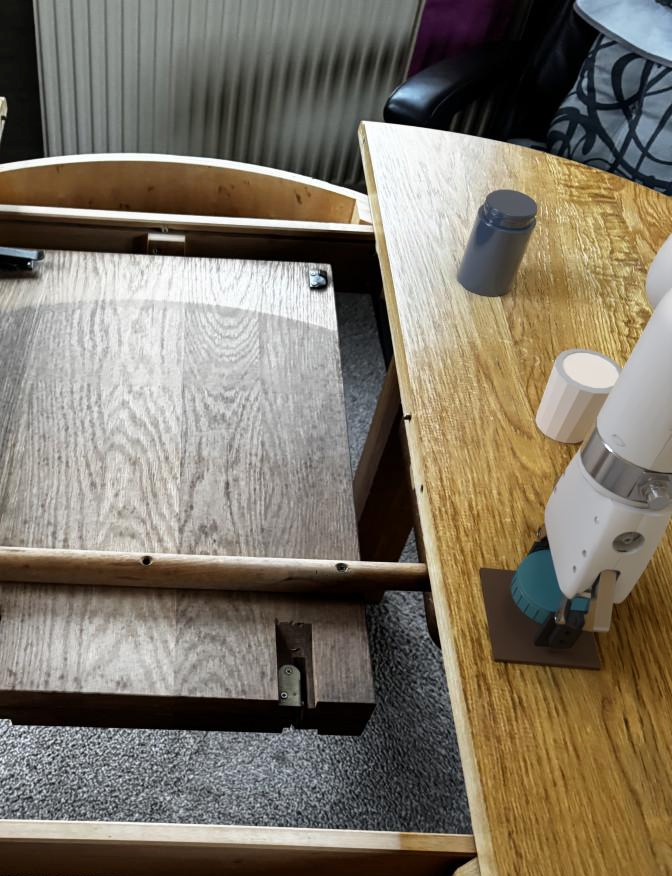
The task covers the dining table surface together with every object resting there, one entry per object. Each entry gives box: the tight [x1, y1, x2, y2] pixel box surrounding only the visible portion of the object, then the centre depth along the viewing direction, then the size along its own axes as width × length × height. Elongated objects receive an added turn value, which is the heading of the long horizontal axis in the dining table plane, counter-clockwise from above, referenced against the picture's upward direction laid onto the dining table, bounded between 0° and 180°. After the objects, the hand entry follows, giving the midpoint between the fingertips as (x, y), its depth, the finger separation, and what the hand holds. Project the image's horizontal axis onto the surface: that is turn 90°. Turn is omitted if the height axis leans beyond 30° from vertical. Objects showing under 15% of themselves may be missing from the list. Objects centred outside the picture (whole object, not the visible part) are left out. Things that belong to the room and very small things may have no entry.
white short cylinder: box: [534, 348, 623, 444], centre depth 93 cm, size 7×7×7 cm
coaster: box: [478, 567, 602, 671], centre depth 81 cm, size 9×10×1 cm
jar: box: [456, 188, 538, 297], centre depth 107 cm, size 7×7×10 cm
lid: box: [510, 550, 592, 624], centre depth 77 cm, size 7×7×2 cm
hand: (544, 607), depth 80 cm, fingers closed on lid, 6 cm apart
